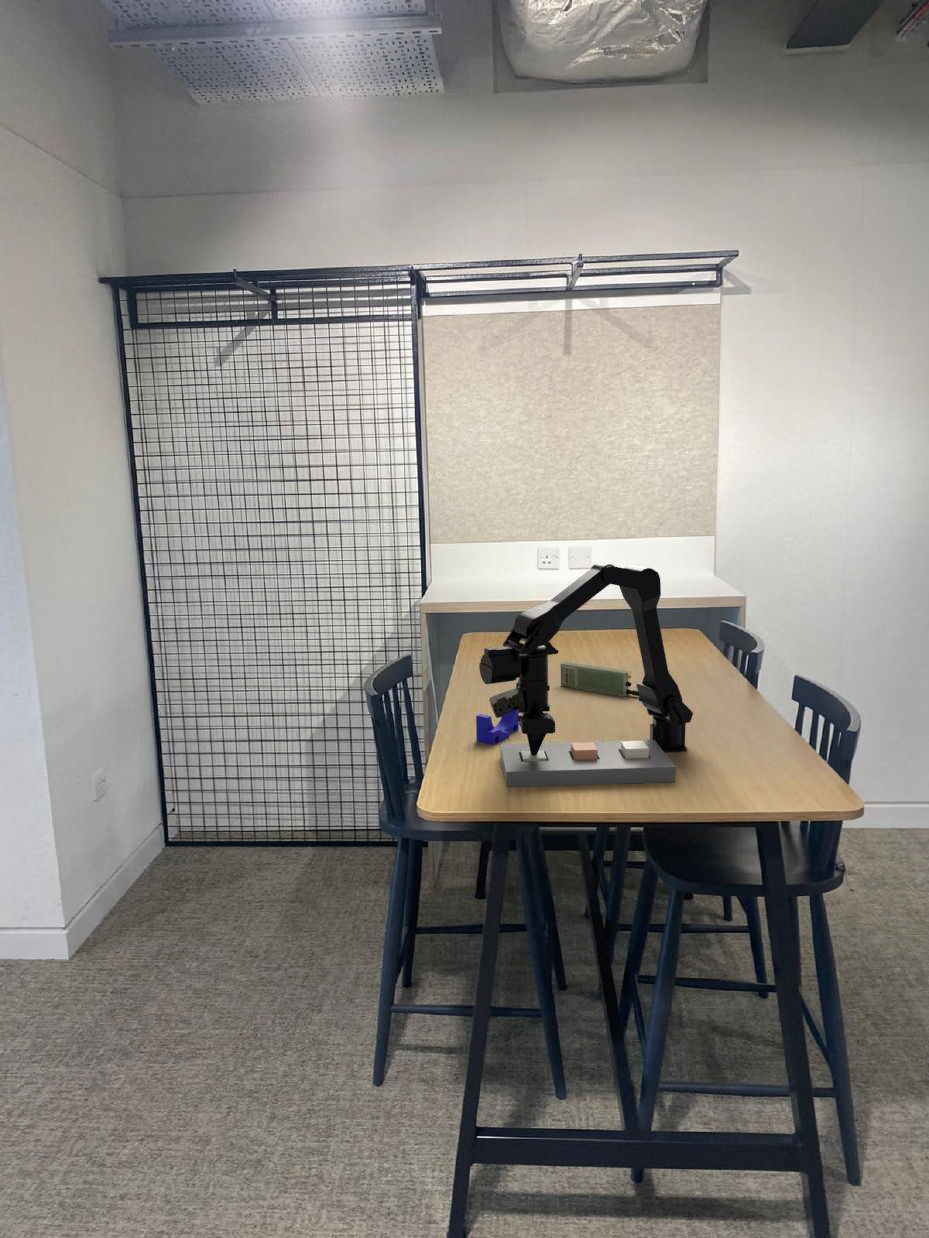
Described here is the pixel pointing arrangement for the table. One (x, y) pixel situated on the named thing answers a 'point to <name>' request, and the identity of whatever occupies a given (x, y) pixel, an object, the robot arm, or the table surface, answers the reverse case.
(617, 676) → the handheld radio
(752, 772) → the table surface
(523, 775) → the keypad
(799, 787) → the table surface
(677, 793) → the table surface
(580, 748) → the peach square block
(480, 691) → the table surface
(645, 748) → the cream key
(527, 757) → the sage key
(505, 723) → the cable clip
